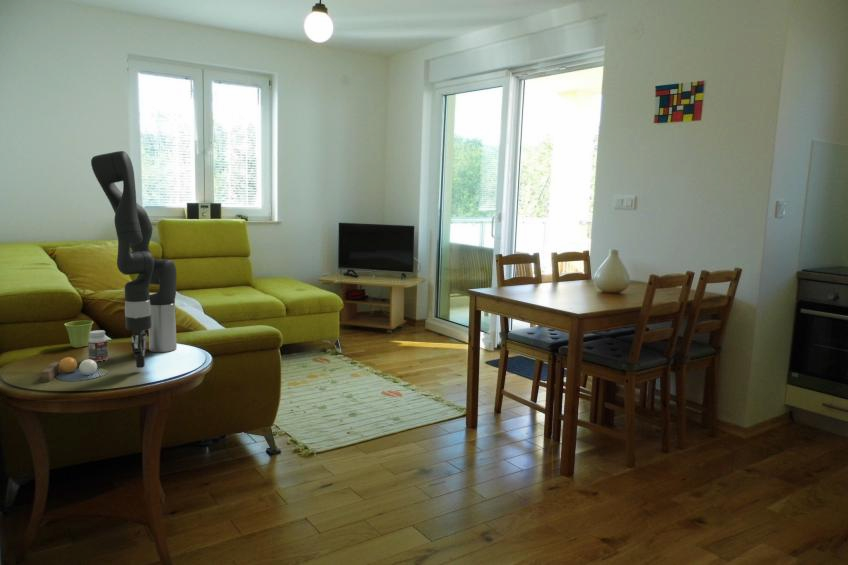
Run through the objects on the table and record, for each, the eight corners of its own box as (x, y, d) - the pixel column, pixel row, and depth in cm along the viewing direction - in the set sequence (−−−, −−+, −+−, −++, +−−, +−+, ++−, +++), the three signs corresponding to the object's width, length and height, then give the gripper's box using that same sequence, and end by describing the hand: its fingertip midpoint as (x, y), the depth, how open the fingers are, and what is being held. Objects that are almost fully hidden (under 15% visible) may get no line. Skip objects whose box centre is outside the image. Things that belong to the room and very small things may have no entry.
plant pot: (61, 349, 223) (60, 326, 222) (71, 343, 232) (69, 320, 231) (90, 348, 225) (88, 325, 224) (98, 342, 234) (96, 320, 233)
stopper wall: (54, 370, 197) (53, 361, 197) (61, 370, 198) (60, 361, 198) (42, 381, 186) (41, 372, 186) (49, 381, 187) (48, 371, 186)
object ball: (66, 374, 198) (59, 360, 197) (82, 367, 199) (75, 353, 198) (60, 376, 193) (54, 362, 192) (77, 370, 194) (70, 355, 193)
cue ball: (91, 373, 197) (78, 363, 195) (102, 363, 197) (89, 353, 194) (87, 381, 192) (73, 371, 190) (98, 370, 192) (84, 361, 190)
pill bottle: (100, 362, 207) (98, 334, 206) (85, 361, 208) (83, 333, 207) (111, 358, 213) (110, 330, 212) (97, 357, 214) (95, 329, 213)
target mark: (64, 369, 199) (63, 368, 199) (111, 367, 203) (111, 366, 203) (50, 382, 186) (50, 381, 186) (101, 379, 189) (101, 379, 189)
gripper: (129, 310, 201) (131, 362, 204) (120, 318, 189) (123, 373, 191) (154, 309, 203) (156, 361, 206) (147, 317, 191) (149, 372, 193)
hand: (140, 366), depth 198 cm, fingers closed
